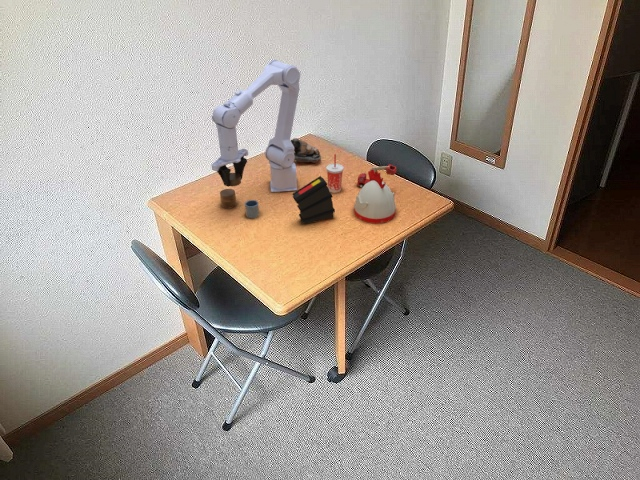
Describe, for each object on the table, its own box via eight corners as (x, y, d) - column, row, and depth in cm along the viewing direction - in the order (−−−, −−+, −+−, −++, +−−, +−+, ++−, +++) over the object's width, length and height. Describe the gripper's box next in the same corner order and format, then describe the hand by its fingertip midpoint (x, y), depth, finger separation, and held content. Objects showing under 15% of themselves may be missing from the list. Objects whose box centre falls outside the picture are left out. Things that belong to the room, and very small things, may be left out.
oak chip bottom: (236, 200, 171) (235, 194, 170) (236, 207, 167) (235, 201, 166) (221, 201, 171) (220, 195, 169) (221, 208, 167) (220, 202, 165)
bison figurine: (320, 157, 198) (320, 134, 192) (321, 165, 193) (321, 141, 187) (291, 158, 198) (290, 135, 192) (291, 166, 192) (290, 142, 186)
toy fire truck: (358, 182, 181) (360, 159, 176) (394, 189, 177) (397, 165, 172) (356, 186, 179) (357, 162, 173) (392, 193, 175) (394, 169, 169)
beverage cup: (334, 195, 174) (334, 160, 166) (322, 189, 177) (322, 154, 169) (346, 190, 177) (347, 154, 169) (335, 183, 181) (335, 149, 173)
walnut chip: (241, 178, 164) (240, 172, 163) (241, 185, 160) (240, 179, 158) (225, 179, 163) (224, 173, 162) (225, 187, 159) (224, 180, 158)
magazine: (343, 212, 161) (325, 180, 151) (309, 234, 161) (289, 202, 151) (339, 207, 164) (321, 174, 154) (306, 228, 164) (286, 196, 154)
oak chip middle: (231, 193, 171) (230, 187, 169) (238, 199, 167) (237, 193, 166) (217, 197, 168) (217, 191, 167) (225, 203, 165) (224, 197, 163)
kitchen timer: (378, 197, 172) (381, 159, 164) (403, 215, 163) (408, 175, 154) (346, 208, 166) (347, 169, 158) (370, 227, 157) (373, 186, 148)
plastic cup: (259, 210, 165) (258, 199, 163) (259, 217, 162) (258, 206, 159) (246, 211, 165) (244, 200, 162) (246, 218, 161) (245, 207, 159)
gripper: (220, 155, 147) (225, 194, 155) (253, 139, 156) (256, 177, 164) (204, 149, 150) (210, 188, 158) (237, 134, 160) (241, 171, 168)
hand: (233, 182), depth 162 cm, fingers closed on walnut chip, 5 cm apart
